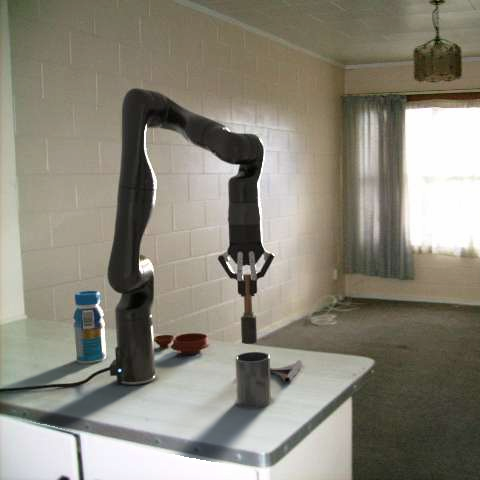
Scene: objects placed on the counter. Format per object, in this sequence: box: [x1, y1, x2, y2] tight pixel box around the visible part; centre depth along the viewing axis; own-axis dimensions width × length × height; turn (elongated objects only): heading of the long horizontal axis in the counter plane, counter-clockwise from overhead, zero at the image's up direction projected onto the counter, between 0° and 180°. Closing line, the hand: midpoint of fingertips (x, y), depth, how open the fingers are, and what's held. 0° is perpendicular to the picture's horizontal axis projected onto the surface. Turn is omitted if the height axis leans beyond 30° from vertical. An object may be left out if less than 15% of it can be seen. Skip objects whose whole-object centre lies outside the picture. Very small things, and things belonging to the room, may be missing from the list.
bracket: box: [270, 360, 303, 384], centre depth 171 cm, size 14×15×3 cm
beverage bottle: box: [73, 290, 107, 364], centre depth 185 cm, size 8×8×20 cm
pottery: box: [153, 332, 211, 356], centre depth 194 cm, size 12×20×4 cm, turn 60°
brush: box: [240, 273, 258, 345], centre depth 148 cm, size 4×4×16 cm
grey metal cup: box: [234, 351, 272, 409], centre depth 150 cm, size 8×8×11 cm
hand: (247, 295), depth 147 cm, fingers closed on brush, 2 cm apart
